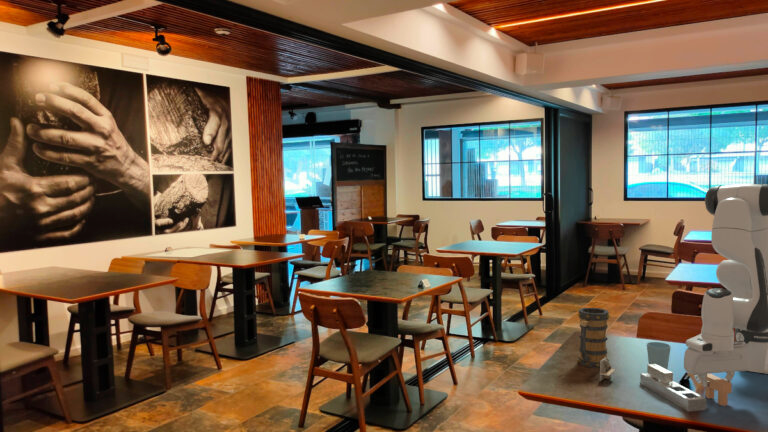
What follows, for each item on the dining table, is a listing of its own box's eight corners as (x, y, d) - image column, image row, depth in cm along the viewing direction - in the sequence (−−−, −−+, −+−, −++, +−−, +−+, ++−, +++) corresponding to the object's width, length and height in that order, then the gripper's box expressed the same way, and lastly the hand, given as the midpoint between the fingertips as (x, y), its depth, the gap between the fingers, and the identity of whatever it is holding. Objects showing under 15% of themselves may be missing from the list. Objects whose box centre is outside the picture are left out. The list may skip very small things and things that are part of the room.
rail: (656, 382, 196) (656, 362, 196) (706, 410, 172) (706, 387, 172) (640, 383, 195) (640, 363, 195) (688, 411, 172) (688, 388, 171)
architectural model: (615, 379, 201) (615, 358, 200) (609, 385, 195) (609, 364, 195) (605, 378, 203) (605, 357, 202) (598, 383, 197) (598, 362, 197)
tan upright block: (710, 395, 184) (710, 373, 184) (731, 405, 175) (731, 383, 175) (701, 395, 184) (701, 374, 183) (722, 406, 175) (722, 384, 174)
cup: (675, 375, 203) (675, 346, 202) (659, 378, 200) (659, 349, 199) (657, 369, 210) (657, 340, 209) (641, 372, 207) (641, 343, 206)
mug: (616, 362, 218) (617, 310, 217) (598, 374, 205) (599, 318, 204) (583, 355, 227) (583, 305, 225) (564, 366, 214) (564, 313, 213)
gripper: (739, 337, 183) (738, 380, 184) (680, 341, 180) (680, 384, 181) (755, 342, 177) (754, 387, 178) (694, 346, 174) (693, 391, 175)
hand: (716, 385), depth 179 cm, fingers open, 6 cm apart
